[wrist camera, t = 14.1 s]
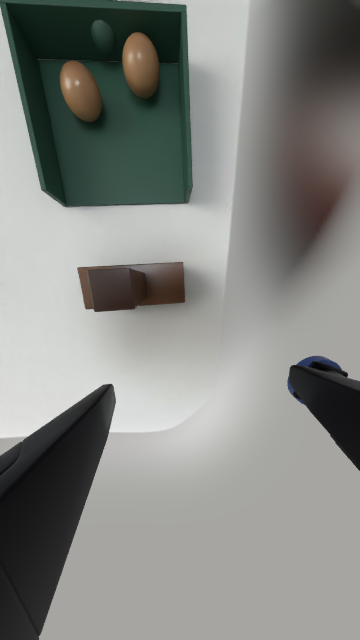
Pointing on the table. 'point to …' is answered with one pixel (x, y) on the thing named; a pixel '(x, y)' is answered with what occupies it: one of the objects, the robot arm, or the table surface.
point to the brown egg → (80, 91)
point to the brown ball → (141, 65)
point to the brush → (131, 285)
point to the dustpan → (104, 101)
